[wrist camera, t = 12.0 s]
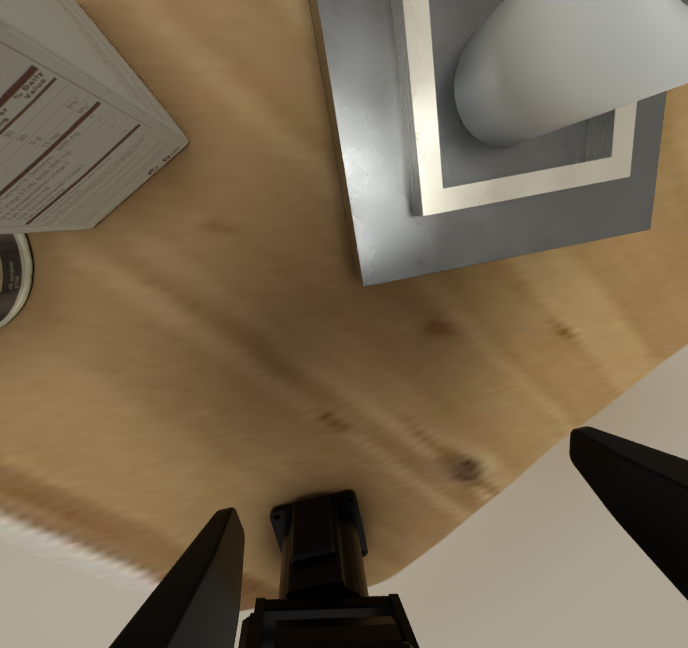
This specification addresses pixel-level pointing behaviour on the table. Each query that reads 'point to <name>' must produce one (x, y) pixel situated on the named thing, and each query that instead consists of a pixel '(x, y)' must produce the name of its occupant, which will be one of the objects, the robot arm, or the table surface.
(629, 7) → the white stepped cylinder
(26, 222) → the supplement box
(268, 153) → the table surface
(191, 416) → the table surface
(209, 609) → the robot arm
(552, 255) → the table surface
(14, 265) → the coffee can
